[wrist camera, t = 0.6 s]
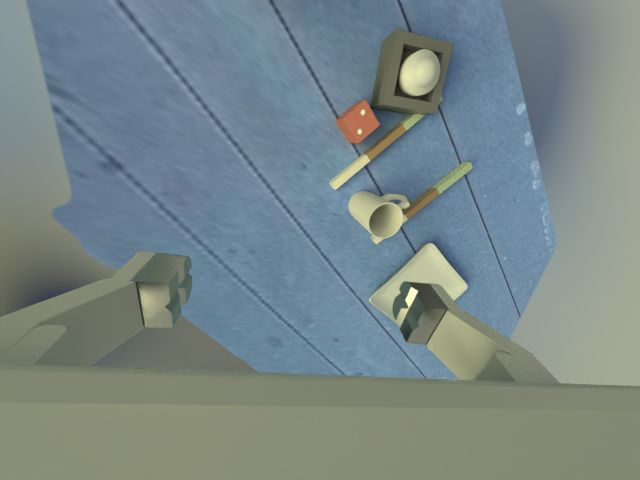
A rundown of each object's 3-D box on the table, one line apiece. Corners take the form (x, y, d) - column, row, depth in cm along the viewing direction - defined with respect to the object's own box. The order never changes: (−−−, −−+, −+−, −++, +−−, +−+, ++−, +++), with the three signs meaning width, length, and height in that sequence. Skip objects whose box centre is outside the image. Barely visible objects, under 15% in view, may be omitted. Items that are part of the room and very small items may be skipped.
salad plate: (462, 281, 71) (471, 287, 68) (406, 330, 74) (412, 338, 71) (423, 235, 62) (432, 240, 59) (362, 293, 65) (367, 300, 62)
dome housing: (382, 41, 44) (397, 29, 39) (433, 53, 47) (454, 43, 42) (370, 107, 48) (383, 104, 43) (419, 116, 51) (436, 113, 46)
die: (349, 142, 50) (359, 143, 45) (335, 120, 48) (343, 118, 43) (369, 126, 49) (381, 124, 44) (355, 103, 47) (366, 99, 42)
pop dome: (402, 49, 41) (417, 40, 38) (435, 57, 43) (453, 49, 39) (393, 93, 44) (407, 89, 40) (425, 99, 45) (441, 96, 41)
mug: (354, 224, 57) (375, 245, 46) (342, 199, 54) (362, 214, 43) (392, 202, 57) (423, 218, 46) (382, 176, 54) (413, 186, 43)
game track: (373, 241, 59) (376, 244, 58) (328, 182, 52) (331, 184, 50) (466, 166, 57) (472, 167, 55) (433, 94, 50) (440, 92, 48)
